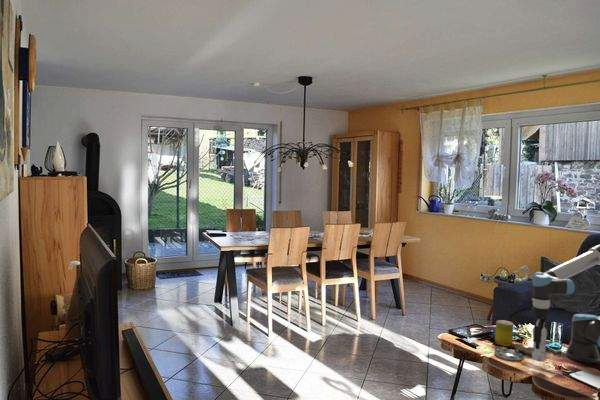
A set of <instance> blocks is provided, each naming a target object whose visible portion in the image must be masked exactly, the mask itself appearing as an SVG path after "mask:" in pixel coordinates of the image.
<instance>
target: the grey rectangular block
mask: <svg viewBox="0 0 600 400" xmlns="http://www.w3.org/2000/svg"><path fill="white" fill-rule="evenodd" d="M532 350H533V346H529V345H528V346H527V345H524V344H519V343H515V346H514V351H519V352H520V353H521V354H522V355H526V356H531V357H532Z"/></svg>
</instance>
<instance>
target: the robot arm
mask: <svg viewBox="0 0 600 400" xmlns="http://www.w3.org/2000/svg"><path fill="white" fill-rule="evenodd" d="M587 250H588V251H586V252H584V253H582V254H580V255H578V256H576V257H573V258H572V259H570V260H568V261H565V262H563V263H561V264H559V265H556V266H555V267H553V268H551V269H547V270H546V271H544V272H542V271H536V272H534V273H533V274H532V277H531V282H532V298H531V301H532V310H531V313H532V315H534V316H535V317H536V318H535V319H534V322H533V323H534V324H533V325H534V327H533V328H534V340H533V339H532V342H533V343H534V342H535V352H534V354H535V355H539V356H541V332H542V329H543V326H544V327H545V328H546V329H547V317H549V316H550V311H551V309H550V307H551V296H553V295H554V296H555V295H558V296H561V295H565V296H566V295H572V294H573V293H574V292H575V290H576V287H575V283H574V282H573V280H572V279H571V277H573V276H575V275H578V274H580V273H581V272H583V271H586V270H587V269H591V268H593V267H594V266H597V265H598V266H600V243H599V244H598V245H595V246H592V247H591V248H589V249H587ZM571 319H572V320H571V333H570V334H571V335H570V342H569V344H568V346H567V348H566V353H565V354H566V356H567V357H568V358H569V359H572V360H574V361H577V362H582V363H586V364H587V363H588V364H597V363H599V362H600V353H599V350H598V347H599V348H600V315H598V316H597V315H594V314H587V313H575V314H573V316H572V318H571ZM544 322H545V325H544Z"/></svg>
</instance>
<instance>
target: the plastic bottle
mask: <svg viewBox="0 0 600 400" xmlns="http://www.w3.org/2000/svg"><path fill="white" fill-rule="evenodd" d="M544 325H545V322H544ZM532 338H533V339H532V341H533V340H534V327H532ZM547 338H548V330H547V327H546V328H545V327H544V326H543V329H542V332H541V356H539V355H535V354H534V352H535V342H534V341H533V344H532V345H533V346H532V348H533V350H532V356H531V358H532V359H533V360H534V361H537V362H546V361H547V359H548V355H547Z"/></svg>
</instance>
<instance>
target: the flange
mask: <svg viewBox="0 0 600 400" xmlns="http://www.w3.org/2000/svg"><path fill="white" fill-rule="evenodd" d="M493 353H494V356H495V357H497V358H498V359H502V360H505V361H508V362H509V361H510V362H520V361H523V359H524V354H522V353H520V352H519V351H515V349H509V348H507V347H504V348H496V349H495V350H494V352H493Z"/></svg>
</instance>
